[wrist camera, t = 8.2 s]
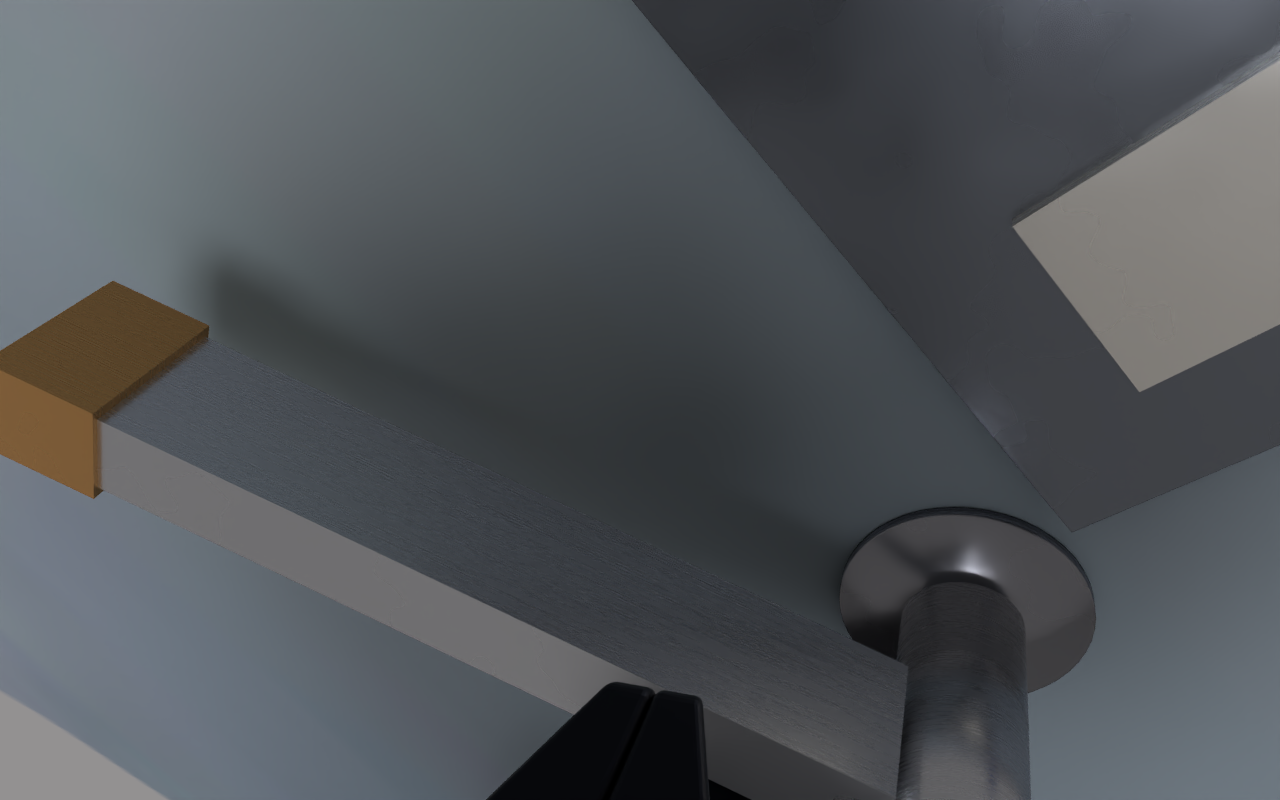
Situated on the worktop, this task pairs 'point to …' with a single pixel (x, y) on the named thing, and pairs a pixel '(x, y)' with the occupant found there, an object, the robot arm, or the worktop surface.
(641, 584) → the swing arm
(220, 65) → the worktop surface
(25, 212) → the worktop surface
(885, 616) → the base
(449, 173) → the worktop surface
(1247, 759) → the worktop surface
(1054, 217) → the board
